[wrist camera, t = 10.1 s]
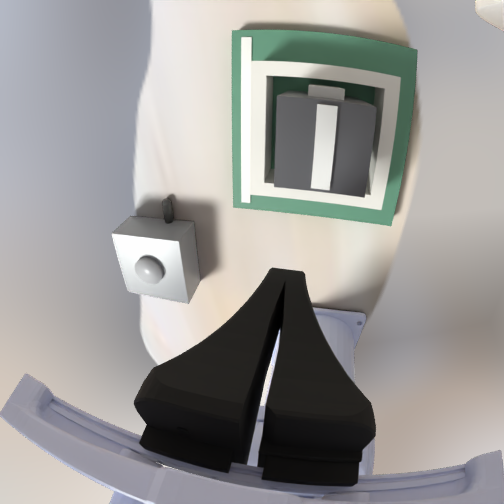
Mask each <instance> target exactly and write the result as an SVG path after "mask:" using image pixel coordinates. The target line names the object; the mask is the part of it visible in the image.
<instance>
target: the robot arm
mask: <svg viewBox="0 0 504 504" xmlns="http://www.w3.org/2000/svg"><path fill="white" fill-rule="evenodd" d="M359 321H361V322H359ZM365 321H366V315H365V314H364V313H359V312H350V311H340V310H331V309H322V308H314V307H312V304H311V301H310V298H309V294H308V290H307V286H306V279H305V273H304V272H303V271H295V270H287V269H279V268H271V269H270V270H269V271H268V273H267V275H266V277H265V278H264V280H263V281H262V283H261V284H260V285H259V287H258V288H257V289H256V291H255V292H254V293H253V294H252V296H251V297H250V298H249V299H248V300H247V302H246V303H245V304H244V305H243V306H242V307H241V308H240V309H239V310H238V311H237V312H236V313H235V314H234V315H233V316H232V317H231V318H230V319H229V320H228V321H227V322H226V323H225V324H223V325H222V326H221V327H220V328H219V329H218V330H216V331H215V332H214V333H212V334H211V335H210V336H208V337H207V338H206V339H204V340H203V341H201V342H200V343H199V344H197V345H195V346H194V347H192V348H190V349H189V350H187V351H186V352H184V353H182V354H181V355H179V356H177V357H175V358H173V359H171V360H169V361H167V362H165V363H163V364H161V365H158V366H156V367H154V368H153V369H152V370H151V372H150V373H149V375H148V376H147V378H146V379H145V381H144V382H143V384H142V386H141V388H140V390H139V392H138V394H137V396H136V398H135V400H134V405H135V408H136V410H137V412H138V413H139V414H140V416H141V417H142V419H143V420H144V421H145V423H146V424H147V425H146V428H145V430H144V432H143V435H142V436H140V435H137V434H135V433H132V432H130V431H127V430H125V429H122V428H119V427H117V426H115V425H113V424H110V423H108V422H105V421H103V420H101V419H99V418H97V417H95V416H92V415H90V414H88V413H86V412H84V411H82V410H80V409H78V408H76V407H74V406H72V405H71V404H69V403H67V402H65V401H63V400H61V399H59V398H57V397H56V396H54V395H53V393H52V392H51V391H50V389H49V388H47V387H46V386H45V385H44V384H43V383H42V382H40V381H38V380H36V379H35V378H33V377H32V376H30V375H29V374H25V375H24V376H23V378H22V379H21V381H20V382H19V384H18V385H17V387H16V389H15V390H14V392H13V393H12V395H11V396H10V398H9V399H8V401H7V403H6V404H5V406H4V407H3V409H2V411H1V412H0V417H2V418H3V419H4V420H5V421H6V422H7V423H9V424H10V425H11V426H12V427H13V428H15V429H16V430H17V431H18V432H20V433H21V434H22V435H23V436H25V437H26V438H27V439H29V440H30V441H31V442H33V443H34V444H36V445H37V446H38V447H40V448H41V449H42V450H44V451H45V452H47V453H48V454H50V455H51V456H53V457H54V458H56V459H57V460H59V461H60V462H62V463H64V464H65V465H67V466H68V467H70V468H72V469H73V470H75V471H77V472H79V473H80V474H82V475H84V476H86V477H88V478H89V479H91V480H93V481H95V482H97V483H99V484H101V485H103V486H105V487H107V488H109V489H111V490H113V491H114V494H113V496H112V499H111V501H110V503H109V504H504V470H503V461H502V453H501V450H498V451H495V452H490V453H486V454H482V455H479V456H477V457H474V458H473V459H471V460H469V461H468V462H467V463H466V464H462V465H457V466H452V467H446V468H440V469H433V470H427V471H418V472H408V473H398V474H382V475H372V473H373V466H374V453H375V451H374V450H375V439H374V437H375V435H376V433H375V432H376V425H375V419H374V413H373V409H372V405H371V402H370V401H369V400H368V399H367V398H366V397H365V396H364V395H363V393H362V392H361V391H360V390H359V389H358V387H357V386H356V385H355V366H354V349H355V347H356V344H357V342H358V339H359V337H360V334H361V332H362V329H363V327H364V324H365ZM271 357H272V364H271V365H272V366H273V367H272V372H271V377H270V382H269V386H268V391H267V396H266V401H265V405H264V406H260V401H261V397H262V392H263V387H264V382H265V378H266V374H267V371H268V367H269V364H270V361H271ZM156 462H157V463H156ZM159 463H160V464H159ZM161 464H163V465H166V466H169V467H172V468H175V469H172V468H166V467H163V466H162V465H161ZM176 469H178V470H176ZM180 470H181V471H180ZM184 471H185V472H184ZM191 473H192V474H191ZM198 475H199V476H198ZM202 476H203V477H202ZM218 480H219V481H218ZM227 482H228V483H227Z"/></svg>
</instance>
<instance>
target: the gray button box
mask: <svg viewBox="0 0 504 504" xmlns="http://www.w3.org/2000/svg"><path fill="white" fill-rule="evenodd" d="M162 205H163V212H164V219H161V218H149V217H137V216H130V217H129V218H128V219H127V220H125V221H124V222H123V223H122V224H121V225H120V226H119V227H118V228H117V229H116V230H115V231H114V232H113V233H112V237H113V241H114V245H115V249H116V253H117V256H118V260H119V263H120V267H121V270H122V273H123V277H124V280H125V283H126V287H127V290H128V292H132V293H137V294H142V295H147V296H151V297H156V298H161V299H166V300H172V301H177V302H182V303H187V304H189V302H190V300H191V298H192V296H193V295H194V293H195V291H196V289H197V287H198V285H199V283H200V273H199V265H198V256H197V247H196V238H195V228H194V222H193V221H183V220H173V213H172V205H171V201H170V200H169V199H164V200H163V202H162Z"/></svg>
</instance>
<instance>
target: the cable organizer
mask: <svg viewBox="0 0 504 504" xmlns="http://www.w3.org/2000/svg"><path fill="white" fill-rule="evenodd" d="M475 7H476V8H475V10H476V13H477V14H478V15H479V16H480V17H481V18H482V19H483V20H485V21H486V22H488V23H490V24H491V25H493V26H495V27H497V28H499V29H500V30H502V31H504V0H475Z"/></svg>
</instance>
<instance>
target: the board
mask: <svg viewBox="0 0 504 504" xmlns="http://www.w3.org/2000/svg"><path fill="white" fill-rule="evenodd" d="M416 69H417V50H416V49H412V48H408V47H404V46H400V45H396V44H392V43H387V42H382V41H377V40H372V39H367V38H361V37H354V36H348V35H340V34H332V33H323V32H311V31H296V30H233V31H232V163H233V207H234V208H245V209H255V210H265V211H275V212H285V213H294V214H303V215H311V216H320V217H328V218H336V219H344V220H351V221H359V222H366V223H373V224H380V225H387V226H391V225H392V221H393V217H394V212H395V208H396V204H397V199H398V195H399V190H400V186H401V181H402V176H403V170H404V165H405V160H406V154H407V148H408V142H409V135H410V128H411V121H412V113H413V104H414V94H415V83H416ZM310 84H316V85H325V86H334V87H340V88H342V89H345V96H350V97H357V98H359V99H361V100H363V101H365V102H367V103H369V104H371V105H373V106H375V107H377V112H376V122H375V131H374V139H373V146H372V154H371V161H370V168H369V174H368V180H367V186H366V192H365V198H363V197H356V196H348V195H341V194H333V193H325V192H316V191H307V190H298V189H288V188H278V187H274V170H275V141H276V108H277V96H278V95H280V94H282V93H284V92H287V91H289V90H293V91H306V92H308V88H309V85H310Z"/></svg>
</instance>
